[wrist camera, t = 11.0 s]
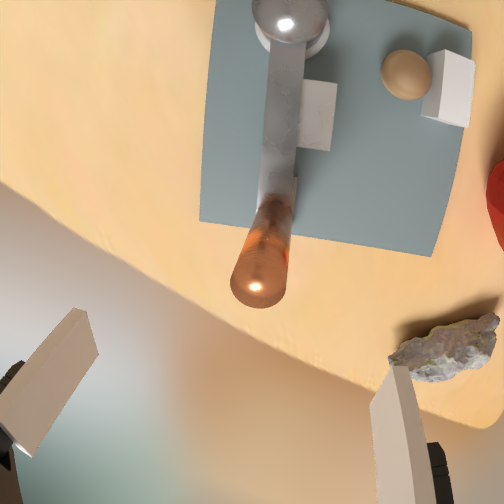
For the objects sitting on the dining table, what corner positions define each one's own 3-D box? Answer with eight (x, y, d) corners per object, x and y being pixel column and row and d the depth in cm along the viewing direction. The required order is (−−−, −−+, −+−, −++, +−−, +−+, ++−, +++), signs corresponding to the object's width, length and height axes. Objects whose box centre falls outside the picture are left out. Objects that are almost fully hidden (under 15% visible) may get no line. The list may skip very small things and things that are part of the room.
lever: (264, 1, 20) (238, -62, 9) (337, 9, 19) (360, -52, 9) (246, 227, 30) (214, 301, 19) (311, 236, 29) (315, 316, 18)
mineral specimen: (384, 370, 38) (392, 408, 32) (382, 333, 36) (392, 372, 29) (482, 343, 34) (499, 376, 28) (489, 304, 31) (511, 336, 25)
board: (222, -15, 21) (206, -35, 16) (466, 33, 19) (492, 25, 14) (202, 217, 32) (186, 237, 27) (427, 252, 30) (444, 276, 25)
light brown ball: (377, 48, 21) (390, 39, 17) (422, 61, 21) (442, 55, 17) (372, 94, 23) (385, 92, 19) (417, 105, 23) (437, 107, 19)
